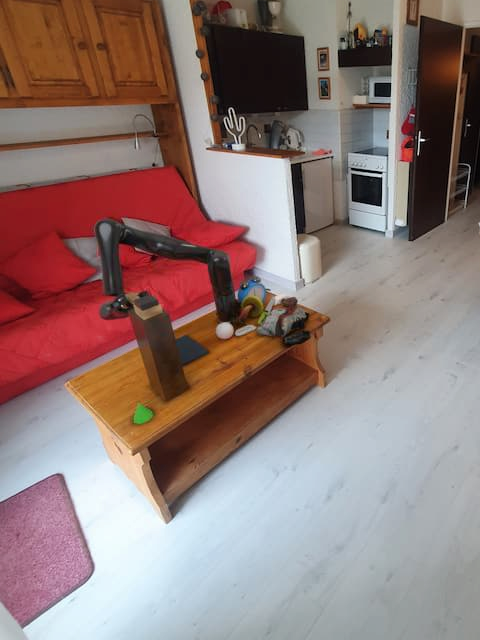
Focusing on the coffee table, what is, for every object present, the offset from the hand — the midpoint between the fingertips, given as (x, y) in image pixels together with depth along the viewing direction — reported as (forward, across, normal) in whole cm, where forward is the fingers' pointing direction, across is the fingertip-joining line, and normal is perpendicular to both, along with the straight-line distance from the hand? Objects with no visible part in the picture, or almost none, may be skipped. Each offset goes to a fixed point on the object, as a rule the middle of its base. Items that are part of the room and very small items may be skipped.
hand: (134, 297), depth 127 cm
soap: (-18, +39, +27) cm, 51 cm away
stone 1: (-9, +54, +32) cm, 63 cm away
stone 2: (-21, +69, +28) cm, 78 cm away
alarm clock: (-32, +55, +21) cm, 67 cm away
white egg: (-14, +30, +26) cm, 42 cm away
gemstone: (-4, -12, +38) cm, 40 cm away
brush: (+2, 0, +4) cm, 4 cm away
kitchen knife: (-21, +57, +26) cm, 66 cm away
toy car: (+4, +48, +38) cm, 61 cm away
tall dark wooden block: (-10, 0, +34) cm, 35 cm away
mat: (-24, +14, +26) cm, 38 cm away
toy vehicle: (-24, +67, +24) cm, 76 cm away
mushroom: (-16, +39, +21) cm, 47 cm away
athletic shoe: (-3, +52, +27) cm, 58 cm away
